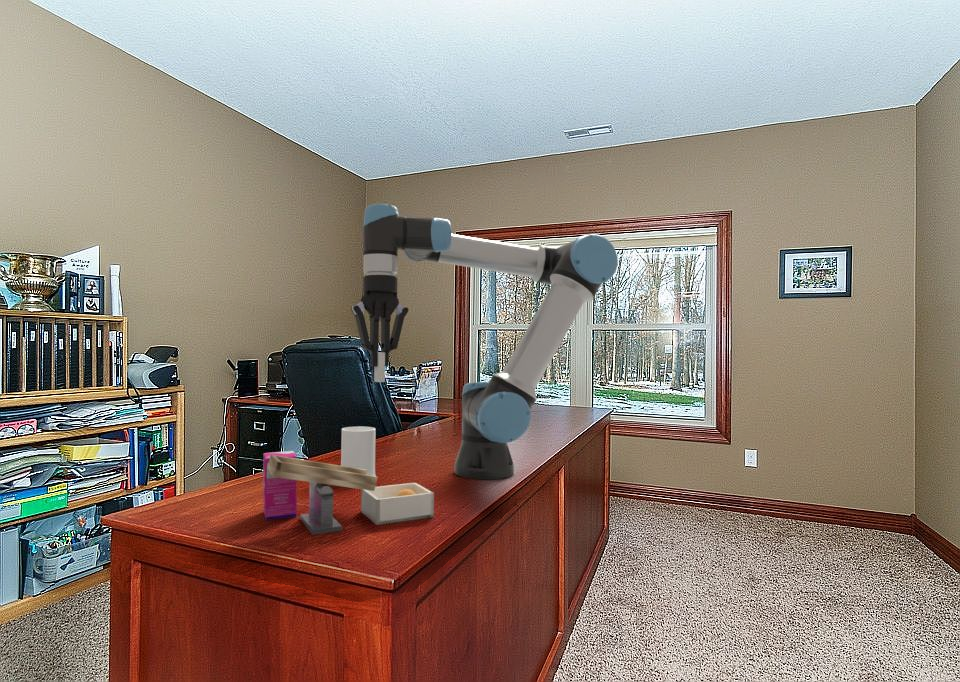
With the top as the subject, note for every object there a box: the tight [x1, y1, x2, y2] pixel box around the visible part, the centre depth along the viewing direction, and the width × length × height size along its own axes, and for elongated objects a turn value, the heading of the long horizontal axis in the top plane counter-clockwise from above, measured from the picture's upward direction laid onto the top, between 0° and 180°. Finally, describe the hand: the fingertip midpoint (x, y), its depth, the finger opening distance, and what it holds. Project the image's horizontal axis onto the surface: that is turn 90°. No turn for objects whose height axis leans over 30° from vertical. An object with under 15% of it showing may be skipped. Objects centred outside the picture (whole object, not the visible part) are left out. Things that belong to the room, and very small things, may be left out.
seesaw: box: [267, 455, 379, 491], centre depth 106 cm, size 18×13×2 cm
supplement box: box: [262, 450, 298, 521], centre depth 109 cm, size 6×6×12 cm
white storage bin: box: [360, 482, 435, 526], centre depth 110 cm, size 11×9×4 cm
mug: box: [340, 425, 377, 477], centre depth 141 cm, size 12×8×12 cm
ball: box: [397, 489, 415, 497], centre depth 111 cm, size 4×4×4 cm
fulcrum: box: [299, 482, 343, 536], centre depth 103 cm, size 5×10×8 cm, turn 29°
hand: (379, 381), depth 128 cm, fingers closed
